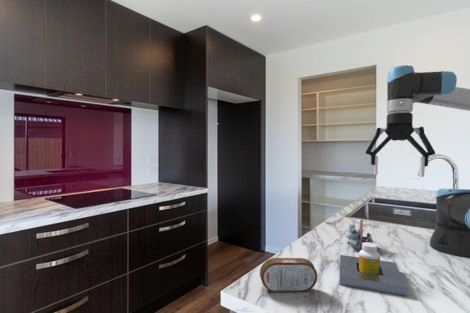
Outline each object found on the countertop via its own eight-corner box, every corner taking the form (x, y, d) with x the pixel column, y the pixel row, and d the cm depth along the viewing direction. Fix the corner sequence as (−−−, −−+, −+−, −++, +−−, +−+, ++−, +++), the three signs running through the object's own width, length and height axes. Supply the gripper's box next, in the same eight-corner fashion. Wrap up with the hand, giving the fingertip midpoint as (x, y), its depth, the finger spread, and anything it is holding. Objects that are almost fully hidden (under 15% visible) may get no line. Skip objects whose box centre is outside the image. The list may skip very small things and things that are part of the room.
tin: (314, 287, 73) (315, 256, 73) (318, 293, 70) (319, 261, 70) (259, 287, 72) (259, 257, 72) (261, 294, 69) (261, 261, 69)
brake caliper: (383, 249, 95) (360, 220, 97) (355, 263, 98) (334, 235, 101) (379, 239, 105) (359, 213, 108) (354, 253, 109) (335, 227, 111)
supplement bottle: (368, 282, 76) (368, 248, 75) (354, 274, 81) (355, 242, 80) (383, 280, 77) (384, 246, 77) (369, 272, 82) (370, 240, 82)
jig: (395, 270, 83) (395, 262, 83) (406, 296, 68) (407, 286, 68) (340, 262, 89) (340, 254, 89) (339, 284, 74) (339, 275, 74)
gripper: (359, 113, 93) (358, 174, 93) (448, 109, 83) (446, 178, 84) (358, 116, 100) (357, 173, 100) (440, 113, 90) (438, 175, 91)
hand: (398, 175), depth 92 cm, fingers open, 13 cm apart
